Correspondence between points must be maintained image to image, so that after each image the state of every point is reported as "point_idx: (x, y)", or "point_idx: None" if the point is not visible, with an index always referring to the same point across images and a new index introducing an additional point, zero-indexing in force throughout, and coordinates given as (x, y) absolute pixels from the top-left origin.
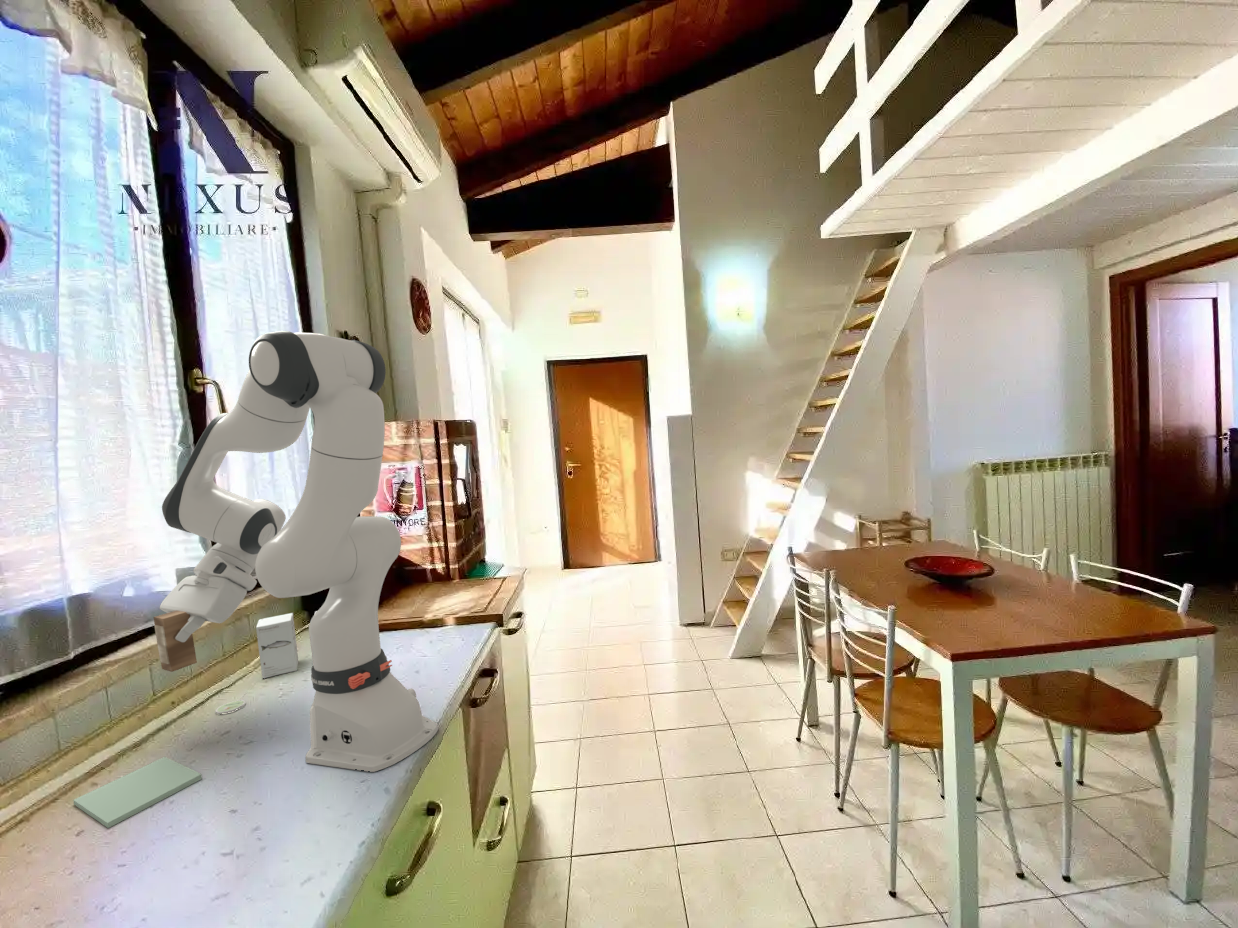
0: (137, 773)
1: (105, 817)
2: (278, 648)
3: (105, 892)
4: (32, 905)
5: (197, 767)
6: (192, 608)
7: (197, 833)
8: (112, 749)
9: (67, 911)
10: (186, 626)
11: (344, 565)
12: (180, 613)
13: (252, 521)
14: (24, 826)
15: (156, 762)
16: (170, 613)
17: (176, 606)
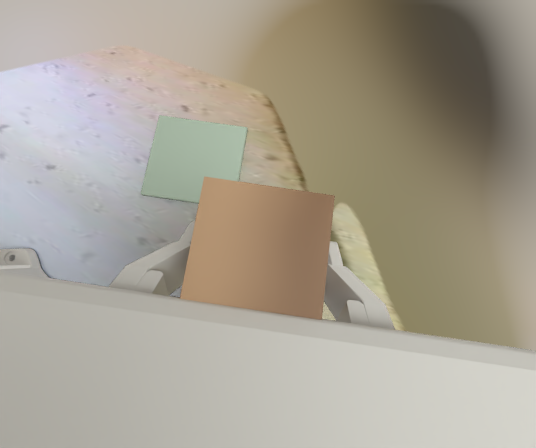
0: (228, 175)
1: (171, 119)
2: None
3: (72, 75)
4: (120, 53)
5: (175, 209)
6: (102, 312)
7: (58, 136)
8: (345, 209)
9: (82, 57)
10: (156, 251)
11: None
12: (196, 271)
13: None
14: (258, 99)
15: None
16: (285, 262)
17: (356, 348)
